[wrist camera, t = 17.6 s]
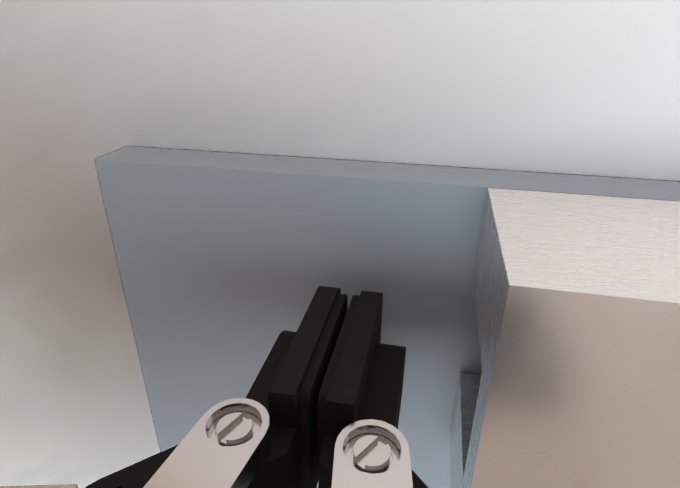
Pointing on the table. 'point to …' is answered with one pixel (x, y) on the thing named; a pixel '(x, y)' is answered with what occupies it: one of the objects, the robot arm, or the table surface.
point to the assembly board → (306, 269)
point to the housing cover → (573, 346)
